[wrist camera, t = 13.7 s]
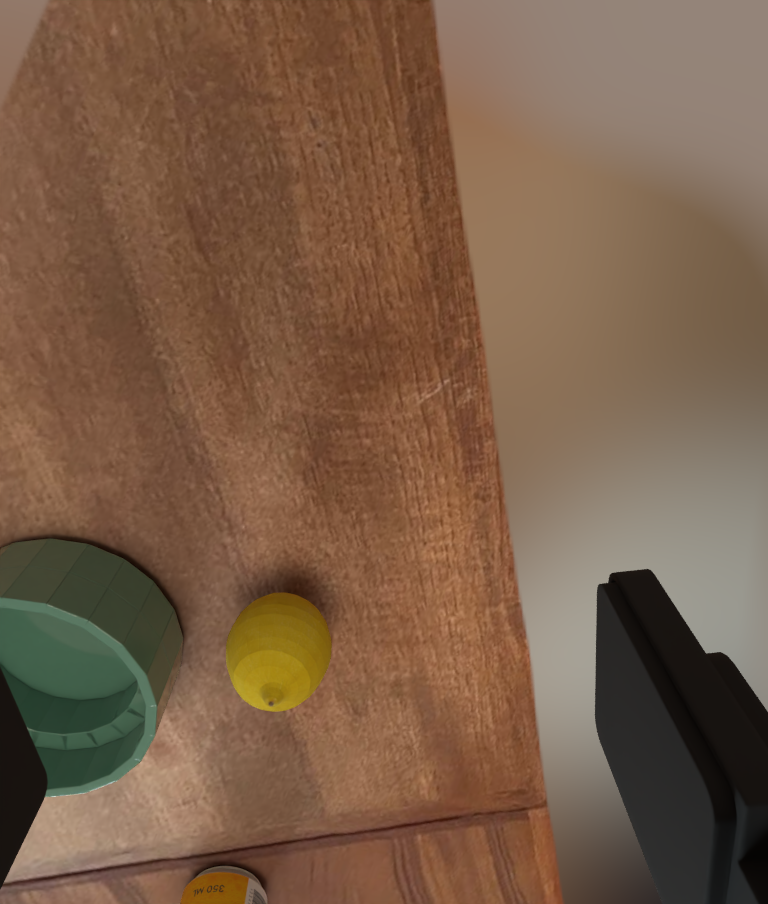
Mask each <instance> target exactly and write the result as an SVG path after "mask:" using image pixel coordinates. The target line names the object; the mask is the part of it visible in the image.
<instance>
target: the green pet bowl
mask: <svg viewBox="0 0 768 904" xmlns="http://www.w3.org/2000/svg"><path fill="white" fill-rule="evenodd" d="M182 649H183V636H182V632H181V629H180V626H179V622H178V619H177V616H176V613H175V610H174V609H173V607H172V606H171V604H170V603H169V601H168V600H167V599H166V597H165V596H164V595H163V593H162V592H161V590H160V589H159V588H158V586H157V585H156V584H155V583H154V581H153V580H151V579H150V578H149V577H147V576H146V575H145V574H144V573H142V572H141V571H140V570H138V569H137V568H136V567H134V566H133V565H132V564H131V563H129V562H128V561H127V560H125V559H123V558H121V557H119V556H116V555H114V554H111V553H109V552H107V551H104V550H102V549H100V548H97V547H95V546H92V545H90V544H86V543H79V542H72V541H65V540H59V539H52V538H48V539H40V540H32V541H24V542H16V543H12V544H10V545H7V546H5V547H3V548H1V549H0V667H1V670H2V672H3V674H4V676H5V679H6V681H7V683H8V685H9V688H10V690H11V692H12V695H13V697H14V699H15V701H16V704H17V706H18V708H19V711H20V713H21V715H22V717H23V720H24V722H25V724H26V727H27V729H28V731H29V733H30V736H31V738H32V740H33V743H34V745H35V747H36V749H37V752H38V754H39V756H40V758H41V761H42V763H43V765H44V768H45V770H46V773H47V779H48V784H47V791H46V795H45V797H55V796H64V795H74V794H83V793H87V792H90V791H92V790H95V789H98V788H100V787H103V786H105V785H108V784H111V783H113V782H116V781H118V780H119V779H120V778H121V777H122V776H124V775H125V774H126V773H127V772H129V771H130V770H131V769H132V768H134V767H135V766H136V765H137V764H138V763H140V762H141V761H142V759H143V757H144V755H145V754H146V752H147V750H148V748H149V746H150V744H151V743H152V741H153V739H154V737H155V735H156V732H157V729H158V727H159V724H160V721H161V719H162V716H163V713H164V710H165V708H166V705H167V702H168V699H169V697H170V694H171V691H172V689H173V686H174V683H175V681H176V678H177V675H178V672H179V670H180V667H181V660H182Z"/></svg>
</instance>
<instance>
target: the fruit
mask: <svg viewBox="0 0 768 904" xmlns="http://www.w3.org/2000/svg"><path fill="white" fill-rule="evenodd" d="M331 648H332V644H331V637H330V633H329V629H328V626H327V622H326V621H325V619H324V618H323V616H322V615H321V613H320V612H319V610H318V609H317V608H316V607H315V606H314V605H313V604H312V603H310V602H309V601H308V600H306V599H304V598H302V597H300V596H298V595H295V594H290V593H285V592H284V593H272V594H269V595H266V596H263V597H261V598H259V599H256V600H255V601H254V602H252V603H251V604H250V605H248V606H247V607H246V608H245V609H244V610H243V611H242V612H241V613H240V615H239V617H238V618H237V620H236V622H235V623H234V625H233V627H232V629H231V631H230V633H229V635H228V639H227V644H226V663H227V668H228V672H229V675H230V678H231V681H232V684H233V686H234V688H235V689H236V691H237V692H238V694H239V695H240V696H241V698H242V699H243V700H245V701H246V702H247V703H249V704H250V705H251V706H254V707H256V708H259V709H261V710H266V711H272V712H274V711H285V710H288V709H291V708H294V707H296V706H297V705H299V704H300V703H302V702H303V701H305V700H306V699H307V698H309V697H310V696H311V695H312V693H313V692H314V691H315V690H316V688H317V687H318V686H319V684H320V682H321V681H322V679H323V677H324V675H325V673H326V671H327V669H328V666H329V662H330V659H331Z"/></svg>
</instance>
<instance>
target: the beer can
mask: <svg viewBox="0 0 768 904" xmlns="http://www.w3.org/2000/svg"><path fill="white" fill-rule="evenodd" d="M267 902H268V900H267V895H266V893H265V891H264V889H263V888H262V887H261V884H260V882H259V880H258V879H257V878H256V877H255V876H254V875H253V874H251V873H250V872H248V871H246V870H244V869H241V868H238V867H233V866H217V867H212V868H209V869H206V870H204V871H203V872H201V873H200V874H199V875H198V876H197V877H196V878H195V879H193V880H192V881H191V882H190V883H189V884H188V885H187V886H186V887H185V889H184V891H183V895H182V899H181V903H180V904H267Z"/></svg>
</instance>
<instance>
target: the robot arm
mask: <svg viewBox="0 0 768 904" xmlns="http://www.w3.org/2000/svg"><path fill="white" fill-rule="evenodd" d="M595 690H596V691H595V719H596V720H595V721H596V727H597V732H598V736H599V740H600V743H601V745H602V748H603V750H604V753H605V756H606V758H607V761H608V764H609V766H610V769H611V771H612V774H613V777H614V779H615V782H616V784H617V787H618V789H619V792H620V795H621V797H622V800H623V803H624V805H625V808H626V810H627V813H628V816H629V818H630V821H631V823H632V826H633V829H634V831H635V834H636V836H637V839H638V842H639V844H640V847H641V849H642V852H643V855H644V857H645V860H646V862H647V865H648V867H649V870H650V873H651V875H652V878H653V880H654V883H655V886H656V888H657V891H658V893H659V896H660V899H661V901H662V904H768V712H767V710H766V709H765V707H764V706H763V705H762V703H761V702H760V700H759V699H758V697H757V696H756V695H755V693H754V692H753V690H752V689H751V687H750V686H749V685H748V683H747V682H746V680H745V679H744V677H743V676H742V675H741V673H740V671H739V670H738V669H737V667H736V666H735V664H734V663H733V662H732V661H731V660H730V659H729V657H728V656H727V655H725V654H723V653H721V652H717V653H708V654H706V653H705V651H704V650H703V648H702V647H701V645H700V644H699V642H698V641H697V639H696V638H695V636H694V634H693V633H692V631H691V630H690V628H689V627H688V625H687V624H686V622H685V621H684V619H683V618H682V616H681V615H680V613H679V612H678V610H677V608H676V607H675V605H674V604H673V602H672V601H671V599H670V598H669V596H668V595H667V593H666V592H665V590H664V589H663V587H662V586H661V584H660V582H659V581H658V580H657V578H656V576H655V575H654V574H653V572H652V571H651V570H649V569H644V570H635V571H626V572H616V573H612V574H610V577H609V582H608V583H604V584H599V585H598V589H597V630H596V689H595ZM47 784H48V779H47V773H46V770H45V768H44V765H43V763H42V761H41V758H40V756H39V754H38V752H37V749H36V747H35V745H34V743H33V740H32V738H31V736H30V733H29V731H28V729H27V727H26V724H25V722H24V720H23V717H22V715H21V713H20V711H19V708H18V706H17V704H16V701H15V699H14V697H13V695H12V692H11V690H10V688H9V685H8V683H7V681H6V679H5V676H4V674H3V672H2V670H1V667H0V889H1V887H2V885H3V883H4V881H5V878H6V876H7V874H8V872H9V870H10V868H11V866H12V864H13V862H14V860H15V858H16V856H17V854H18V852H19V850H20V848H21V845H22V843H23V841H24V839H25V837H26V835H27V833H28V831H29V829H30V827H31V825H32V823H33V821H34V819H35V817H36V814H37V812H38V810H39V808H40V806H41V804H42V802H43V800H44V798H45V795H46V791H47Z"/></svg>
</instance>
